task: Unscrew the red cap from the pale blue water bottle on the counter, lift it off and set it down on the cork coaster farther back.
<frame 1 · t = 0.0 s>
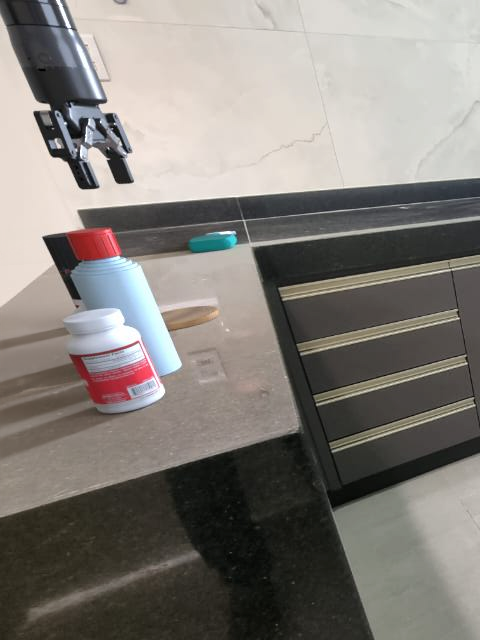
hand: (108, 186, 81), 22 cm above the counter, tool pointing down, fingers open, 8 cm apart
teal soap bar: (217, 244, 156), on the counter
cap: (89, 233, 63), point 18 cm above the counter, screwed on, not yet turned
pill bottle: (134, 403, 63), on the counter
bottle: (151, 371, 71), on the counter
container: (134, 357, 76), on the counter
coaster: (183, 320, 91), on the counter
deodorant: (109, 322, 91), on the counter
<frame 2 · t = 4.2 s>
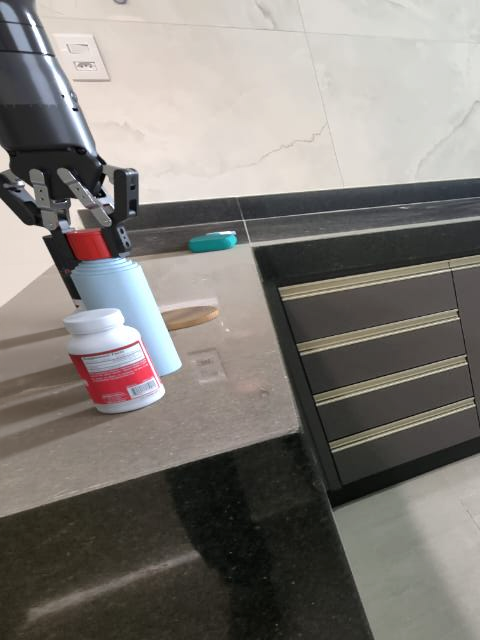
hand: (100, 257, 65), 16 cm above the counter, tool pointing down, fingers closed on cap, 4 cm apart
cap: (90, 233, 63), point 18 cm above the counter, screwed on, not yet turned, touching gripper
everything else where it was.
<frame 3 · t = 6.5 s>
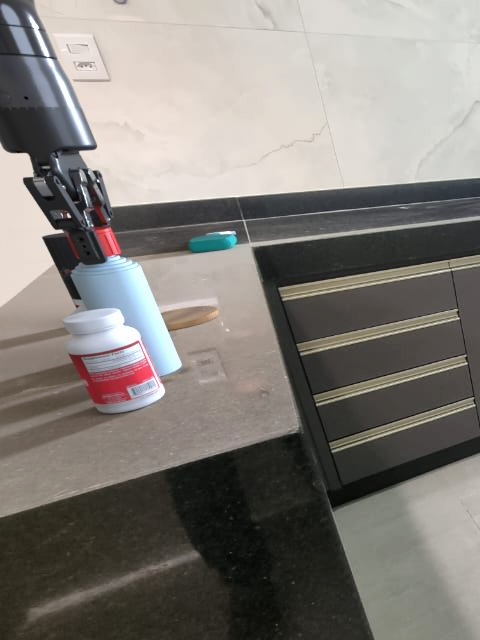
hand: (103, 259, 65), 15 cm above the counter, tool pointing down, fingers closed on cap, 4 cm apart
cap: (89, 232, 63), point 19 cm above the counter, turned 103° so far, risen 0.1 cm, still on its thread, touching gripper
everything else where it was.
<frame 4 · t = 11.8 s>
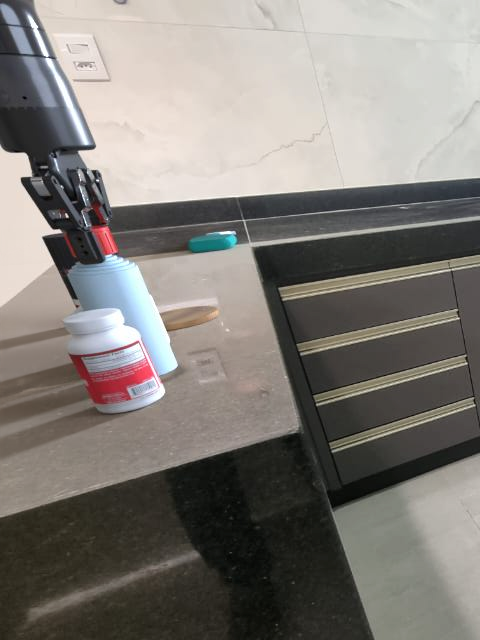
hand: (101, 259, 65), 15 cm above the counter, tool pointing down, fingers closed on cap, 4 cm apart
cap: (86, 231, 63), point 19 cm above the counter, turned 206° so far, risen 0.2 cm, still on its thread, touching gripper
everything else where it was.
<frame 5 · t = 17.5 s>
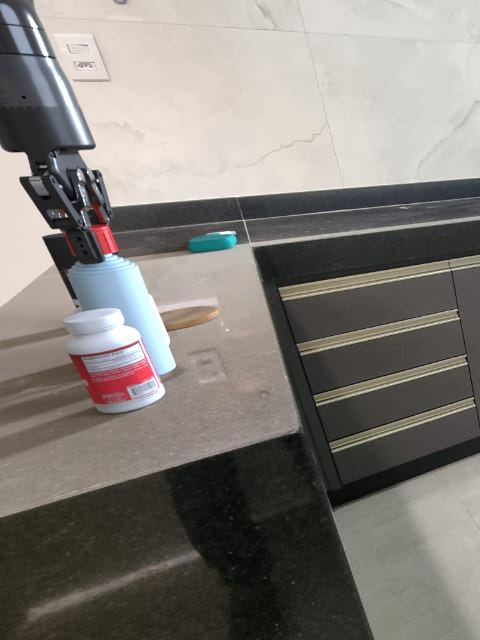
hand: (101, 259, 65), 15 cm above the counter, tool pointing down, fingers closed on cap, 4 cm apart
cap: (87, 230, 63), point 19 cm above the counter, turned 309° so far, risen 0.3 cm, still on its thread, touching gripper
bottle: (145, 372, 71), on the counter, touching gripper
everything else where it was.
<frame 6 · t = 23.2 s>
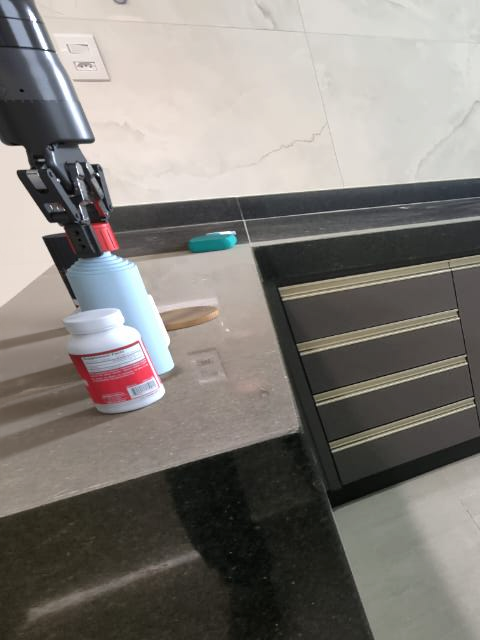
hand: (100, 253, 65), 16 cm above the counter, tool pointing down, fingers closed on cap, 4 cm apart
cap: (87, 228, 63), point 19 cm above the counter, off its thread, touching gripper
bottle: (143, 371, 71), on the counter
everything else where it was.
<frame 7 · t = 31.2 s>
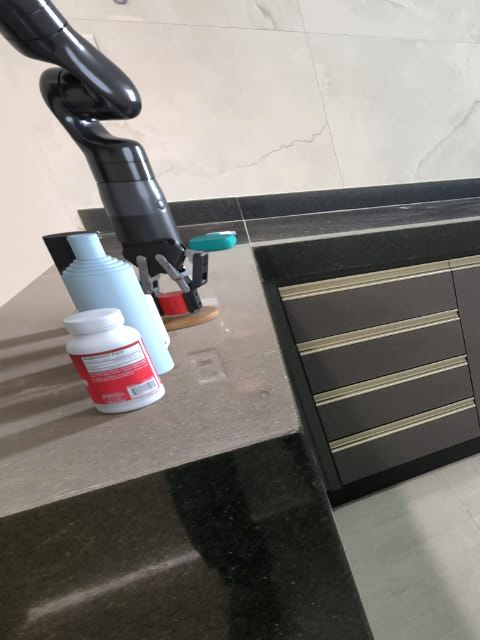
hand: (180, 313, 90), 1 cm above the counter, tool pointing down, fingers closed on cap, 4 cm apart
cap: (173, 296, 89), point 4 cm above the counter, off its thread, touching gripper
everything else where it was.
when the fingers open (3 cm above the counter, at t = 38.3 s): cap drops 1 cm, resting on coaster.
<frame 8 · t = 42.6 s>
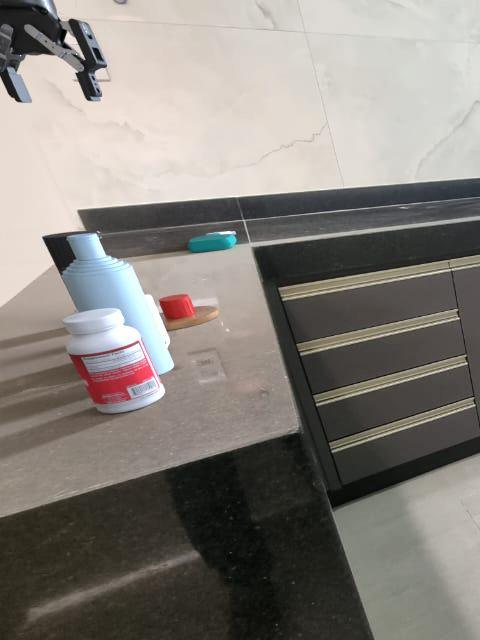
hand: (59, 101, 78), 34 cm above the counter, tool pointing down, fingers open, 8 cm apart
cap: (174, 299, 89), point 4 cm above the counter, off its thread, touching coaster
everything else where it was.
at the end: cap came off its thread; cap inside the target area on the coaster (0.1 cm from its centre), point 3.7 cm above the coaster's base; the gripper is holding nothing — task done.
